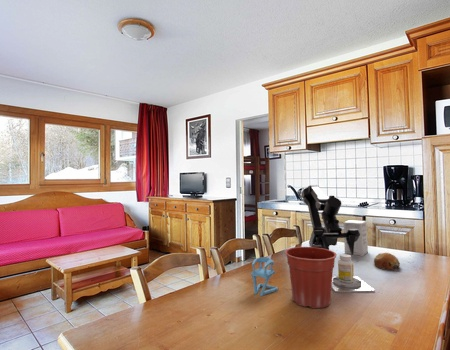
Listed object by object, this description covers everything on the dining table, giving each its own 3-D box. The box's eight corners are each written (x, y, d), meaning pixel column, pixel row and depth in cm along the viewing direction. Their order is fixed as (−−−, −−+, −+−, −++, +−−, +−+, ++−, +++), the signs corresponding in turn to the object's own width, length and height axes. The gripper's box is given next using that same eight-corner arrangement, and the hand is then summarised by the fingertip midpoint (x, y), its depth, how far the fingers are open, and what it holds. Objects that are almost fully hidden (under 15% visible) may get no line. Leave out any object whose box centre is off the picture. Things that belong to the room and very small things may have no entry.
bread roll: (395, 272, 129) (391, 254, 133) (406, 269, 120) (401, 250, 124) (372, 272, 130) (369, 254, 134) (381, 269, 121) (377, 250, 125)
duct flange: (322, 278, 114) (322, 274, 114) (357, 277, 114) (357, 274, 114) (335, 292, 100) (335, 288, 100) (374, 291, 100) (374, 287, 100)
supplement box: (368, 252, 151) (367, 220, 151) (363, 256, 144) (362, 223, 144) (349, 249, 157) (348, 219, 157) (344, 253, 150) (343, 221, 151)
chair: (248, 293, 102) (247, 259, 102) (260, 285, 108) (259, 254, 108) (267, 298, 97) (266, 263, 97) (278, 289, 104) (277, 257, 104)
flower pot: (339, 294, 98) (337, 248, 98) (336, 316, 83) (334, 261, 83) (291, 288, 105) (290, 245, 105) (281, 307, 90) (279, 256, 90)
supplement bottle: (346, 284, 103) (345, 258, 104) (335, 279, 108) (334, 254, 108) (357, 281, 106) (356, 256, 106) (345, 277, 111) (344, 252, 111)
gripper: (347, 231, 128) (358, 263, 117) (305, 232, 129) (313, 264, 118) (354, 217, 120) (367, 249, 109) (310, 218, 121) (319, 250, 110)
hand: (341, 254), depth 112 cm, fingers open, 9 cm apart
